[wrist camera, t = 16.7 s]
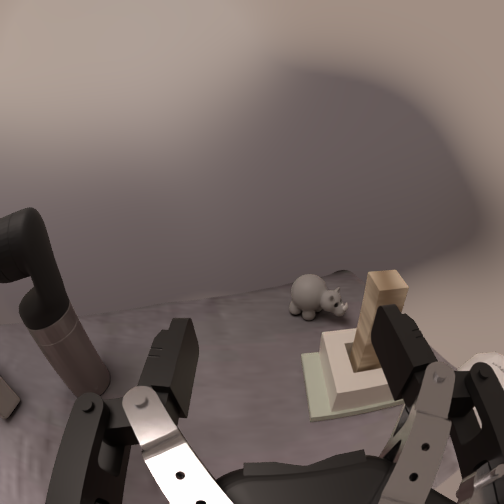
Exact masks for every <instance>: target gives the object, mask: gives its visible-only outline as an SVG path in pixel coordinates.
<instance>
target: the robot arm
mask: <svg viewBox="0 0 504 504" xmlns="http://www.w3.org/2000/svg"><path fill="white" fill-rule="evenodd" d="M29 276H31V278H32V281H33V284H34V287H33V288H32V289H31V290H30V291H29V292H28V293H27V294H26V295H25V296H24V297H23V299H22V301H21V303H20V305H19V314H20V317H21V318H22V320H23V322H24V324H25V326H26V327H27V329H28V331H29V332H30V334H31V336H32V337H33V339H34V340H35V342H36V343H37V345H38V347H39V348H40V350H41V351H42V353H43V354H44V356H45V357H46V358H47V360H48V361H49V363H50V364H51V365H52V367H53V368H54V370H55V371H56V372H57V374H58V375H59V376H60V378H61V379H62V380H63V382H64V383H65V384H66V385H67V387H68V388H69V389H70V390H71V391H72V393H73V394H74V395H75V396H76V397H78V398H77V400H76V401H75V403H74V406H73V408H72V411H71V414H70V417H69V419H68V422H67V425H66V428H65V431H64V434H63V437H62V440H61V444H60V447H59V450H58V454H57V457H56V461H55V464H54V468H53V472H52V476H51V480H50V484H49V488H48V493H47V498H46V503H45V504H122V499H123V491H124V485H125V478H126V472H127V466H128V460H129V455H130V449H131V445H135V444H140V445H141V447H142V449H143V451H142V456H143V458H144V460H145V462H146V464H147V466H148V467H149V469H150V471H151V473H152V474H153V476H154V478H155V480H156V481H157V483H158V485H159V486H160V488H161V489H162V491H163V493H164V494H165V496H166V497H167V499H168V500H169V502H170V503H171V504H504V389H503V387H502V385H501V383H500V382H499V380H498V378H497V376H496V374H495V372H494V370H493V369H492V367H491V366H490V365H488V364H487V363H484V362H477V363H475V364H474V365H473V366H472V367H471V369H470V370H469V371H453V369H452V368H451V367H450V366H449V365H448V364H446V363H444V362H438V360H437V359H436V357H435V355H434V353H433V352H432V350H431V348H430V346H429V345H428V343H427V341H426V340H425V338H424V337H423V335H422V333H421V331H420V330H419V328H418V326H417V325H416V323H415V321H414V320H413V319H412V318H410V317H409V316H408V315H407V314H401V312H400V310H399V308H398V307H397V305H396V304H389V305H382V306H379V307H378V308H377V311H376V315H375V319H374V323H373V326H372V330H371V342H372V345H373V348H374V350H375V353H376V355H377V358H378V360H379V363H380V365H381V368H382V370H383V373H384V375H385V378H386V380H387V383H388V386H389V388H390V391H391V394H392V396H393V399H394V401H397V400H401V399H403V400H404V403H405V404H404V405H403V407H402V410H401V413H400V415H399V418H398V420H397V423H396V425H395V427H394V430H393V432H392V434H391V437H390V439H389V441H388V443H387V444H386V446H385V447H384V449H383V451H382V452H381V454H380V456H379V457H377V456H370V455H365V452H364V449H363V450H358V451H354V452H349V453H344V454H339V455H335V456H332V457H330V458H327V459H325V460H322V461H319V462H317V463H314V464H311V465H308V466H300V465H292V464H284V463H278V462H261V463H244V468H243V469H238V470H235V471H232V472H230V473H227V474H225V475H223V476H221V477H220V478H218V479H217V480H216V479H215V478H214V477H213V476H212V474H211V473H210V472H209V471H208V469H207V468H206V467H205V465H204V464H203V463H202V462H201V460H200V459H199V458H198V456H197V455H196V453H195V452H194V451H193V449H192V448H191V446H190V445H189V443H188V442H187V440H186V439H185V437H184V436H183V434H182V433H181V431H180V430H179V428H178V427H177V424H178V419H179V418H187V416H188V410H189V405H190V399H191V394H192V388H193V383H194V377H195V372H196V367H197V362H198V357H199V345H198V341H197V337H196V334H195V330H194V326H193V323H192V320H191V318H173V319H172V321H171V324H170V327H169V330H161V332H160V333H159V334H158V335H157V336H156V337H155V338H154V341H153V343H152V346H151V349H150V352H149V354H148V357H147V360H146V363H145V365H144V368H143V371H142V374H141V377H140V380H139V383H138V385H137V387H134V388H132V389H130V390H129V391H128V392H127V393H126V394H125V396H124V397H122V398H116V399H109V400H103V399H102V398H101V397H100V395H101V394H102V393H103V392H104V391H105V390H106V389H107V387H108V385H109V382H110V374H109V371H108V370H107V368H106V366H105V365H104V363H103V362H102V360H101V358H100V356H99V355H98V353H97V351H96V350H95V348H94V346H93V345H92V343H91V341H90V339H89V337H88V336H87V334H86V332H85V330H84V328H83V326H82V324H81V322H80V320H79V318H78V316H77V315H76V313H75V311H74V309H73V306H72V304H71V302H70V300H69V298H68V296H67V293H66V291H65V288H64V284H63V281H62V278H61V275H60V272H59V269H58V267H57V264H56V261H55V258H54V255H53V251H52V248H51V244H50V240H49V237H48V233H47V230H46V227H45V224H44V221H43V219H42V217H41V215H40V214H39V212H38V211H37V210H36V209H34V208H25V209H23V210H20V211H17V212H15V213H12V214H10V215H8V216H5V217H3V218H0V283H10V282H13V281H17V280H20V279H23V278H26V277H29ZM474 407H475V408H476V410H477V412H478V415H479V417H480V420H481V423H482V428H480V425H479V422H478V420H477V417H476V415H475V412H474V410H473V408H474ZM449 433H450V436H451V439H452V442H453V445H454V449H455V452H456V456H457V460H458V463H459V467H460V471H461V476H462V482H461V484H460V486H459V489H458V490H457V492H456V497H457V498H458V502H457V503H456V502H454V501H452V500H450V499H449V498H447V497H445V496H444V495H442V494H440V493H438V492H437V491H435V490H434V489H432V488H431V487H432V484H433V482H434V479H435V477H436V474H437V471H438V468H439V466H440V463H441V460H442V457H443V454H444V450H445V447H446V444H447V440H448V437H449Z"/></svg>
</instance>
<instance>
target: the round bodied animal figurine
mask: <svg viewBox="0 0 504 504" xmlns="http://www.w3.org/2000/svg"><path fill="white" fill-rule="evenodd" d="M339 290H340V287H339V288H337V289H336V290H329V291H328V289H327V286H326V284H325V282H324V281H323V280H322V279H321V278H320V277H318V276H316V275H313V274H306V275H303V276H301V277H299V278H298V279H297V280H296V281H295V282H294V283H293V286H292V288H291V297H292V301H291V303H290V306H289V311H290V313H292V314H294V315H296V314H300V313H301V311H302V317H303V318H304V319H305V320H312V319H314V317H315V312H319V311H321V310H322V309H324V310H325V311H327V312H332V313H333V314H334V315H335V316H342V315H344V314H345V312H346V309H347V308H348V305H347V302H346V305H345V304H344V303H343V302H342V300H341V296H340V294H339Z"/></svg>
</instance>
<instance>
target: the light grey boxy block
mask: <svg viewBox="0 0 504 504" xmlns="http://www.w3.org/2000/svg"><path fill="white" fill-rule="evenodd" d="M19 402H20V398H19V397H18V396H17V395H16V394H15V393H14V391H13V390H12V389H11V388H10V387H9V386H8V385H7V383H6V382H5V381H4V380H3V378H2V377H1V376H0V417H1V418H3V419H7V418H8V417H9V416H10V414H11V413H12V412H13V410H14V409H15V407H16V406H17V404H18V403H19Z"/></svg>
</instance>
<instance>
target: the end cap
mask: <svg viewBox="0 0 504 504" xmlns="http://www.w3.org/2000/svg"><path fill="white" fill-rule="evenodd" d="M356 330H357V328H354V329H346V330H338V331H329V332H322V336H321V343H320V350H319V352H316V353H305V354H301V363H302V369H303V375H304V382H305V389H306V396H307V403H308V410H309V417H310V422H314V421H322V420H329V419H335V418H341V417H347V416H353V415H358V414H363V413H368V412H372V411H377V410H381V409H385V408H389V407H393V406H396V405H400V404H404V400H403V399H401V400H397V401H394V399H393V396H392V394H391V391H390V388H389V386H388V383H387V380H386V378H385V375H384V373H383V370H382V368H379V369H374V370H368V371H363V372H357V373H353V370H352V366H351V363H350V360H349V357H350V353H351V350H352V346H353V342H354V338H355V334H356Z"/></svg>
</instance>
